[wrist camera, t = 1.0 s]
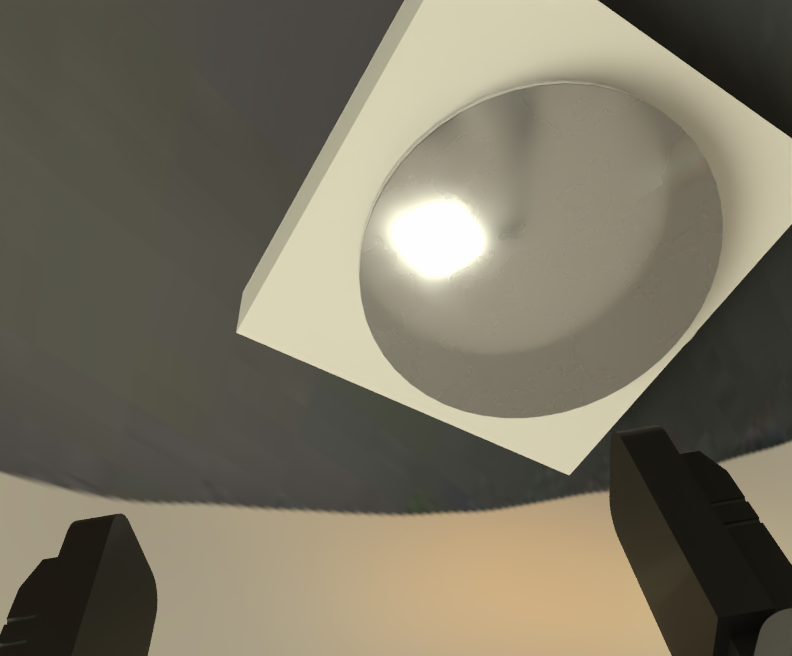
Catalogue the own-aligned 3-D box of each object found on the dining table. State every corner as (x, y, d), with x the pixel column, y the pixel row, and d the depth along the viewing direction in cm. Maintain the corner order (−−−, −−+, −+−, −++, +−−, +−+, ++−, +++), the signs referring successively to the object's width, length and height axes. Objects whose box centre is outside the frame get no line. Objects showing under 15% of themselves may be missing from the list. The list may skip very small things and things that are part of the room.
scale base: (455, -93, 31) (473, -89, 27) (797, 149, 37) (845, 177, 34) (242, 292, 39) (236, 332, 35) (556, 433, 45) (577, 478, 42)
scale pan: (493, -2, 28) (498, 1, 27) (789, 197, 33) (799, 203, 32) (294, 329, 34) (293, 338, 33) (568, 450, 39) (573, 461, 39)
